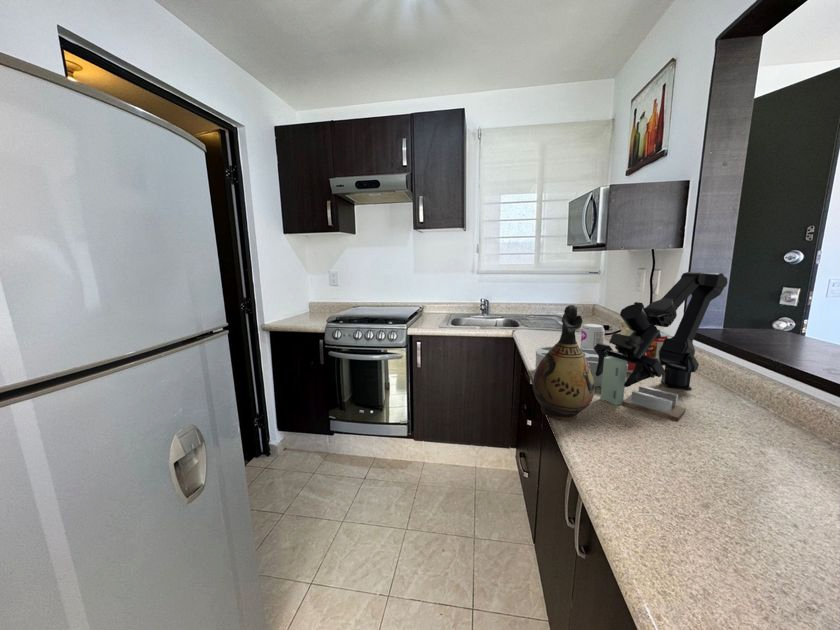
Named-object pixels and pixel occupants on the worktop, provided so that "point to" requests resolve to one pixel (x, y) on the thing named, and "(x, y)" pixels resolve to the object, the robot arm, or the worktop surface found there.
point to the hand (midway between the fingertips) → (610, 380)
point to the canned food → (656, 346)
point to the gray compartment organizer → (589, 355)
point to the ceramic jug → (564, 374)
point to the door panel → (613, 380)
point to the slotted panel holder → (655, 402)
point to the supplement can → (591, 336)
